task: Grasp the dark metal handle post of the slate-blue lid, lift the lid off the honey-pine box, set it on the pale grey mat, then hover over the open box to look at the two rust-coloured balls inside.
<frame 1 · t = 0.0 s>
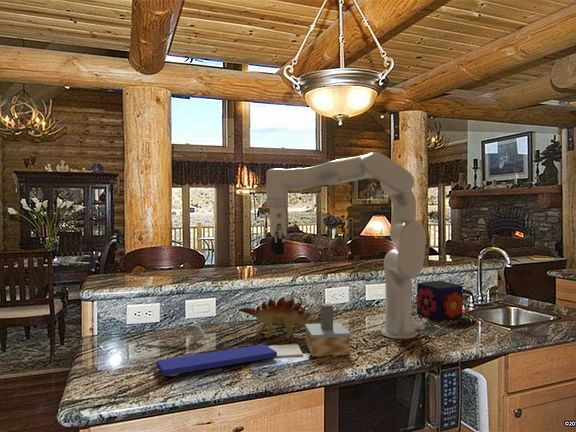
hand: (277, 252, 155), 31 cm above the worktop, tool pointing down, fingers open, 9 cm apart
lid: (326, 331, 146), point 6 cm above the worktop, touching pine box
rust ball A: (331, 340, 148), point 2 cm above the worktop, touching pine box
decorative cube: (439, 316, 189), on the worktop
long blue plank: (218, 364, 133), on the worktop, touching mat
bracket: (171, 345, 152), on the worktop
rust ball B: (321, 343, 144), point 2 cm above the worktop, touching pine box
toy: (283, 335, 162), on the worktop
pine box: (326, 349, 146), on the worktop
mat: (285, 351, 144), on the worktop
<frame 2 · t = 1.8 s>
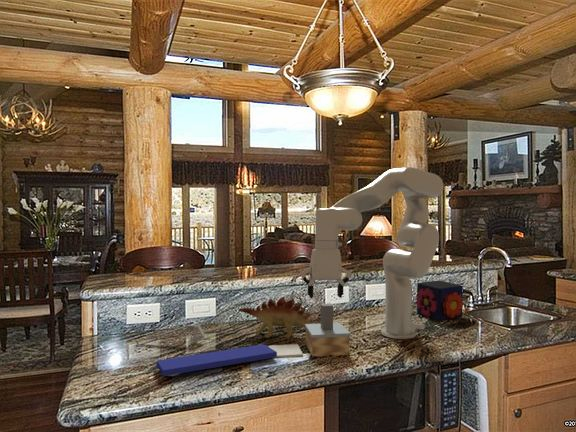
hand: (325, 297, 145), 18 cm above the worktop, tool pointing down, fingers open, 9 cm apart
nothing on the worktop moved.
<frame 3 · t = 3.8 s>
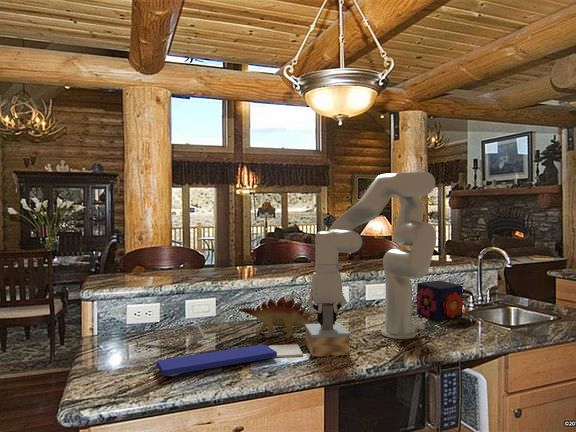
hand: (326, 323, 146), 9 cm above the worktop, tool pointing down, fingers closed on lid, 3 cm apart
lid: (326, 331, 146), point 6 cm above the worktop, touching gripper, pine box
everything else where it was.
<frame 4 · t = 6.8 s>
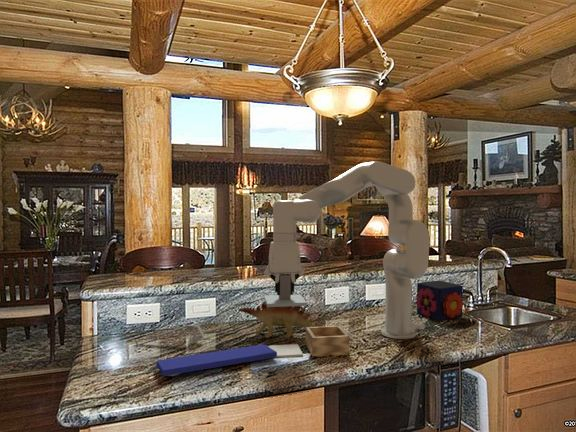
hand: (284, 293, 143), 19 cm above the worktop, tool pointing down, fingers closed on lid, 3 cm apart
lid: (284, 302, 143), point 16 cm above the worktop, touching gripper
everything else where it was.
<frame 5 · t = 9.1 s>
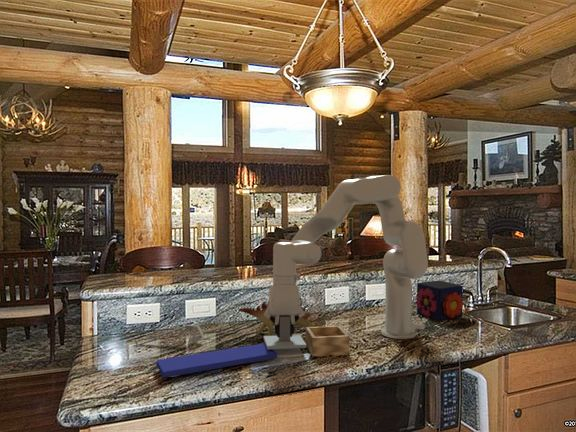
hand: (284, 335, 144), 5 cm above the worktop, tool pointing down, fingers closed on lid, 3 cm apart
lid: (284, 343, 144), point 3 cm above the worktop, touching gripper, long blue plank
long blue plank: (218, 364, 133), on the worktop, touching lid, mat
everything else where it was.
when the fingers open (5 cm above the worktop, at t = 9.9 s): lid stays where it is, resting on mat, long blue plank.
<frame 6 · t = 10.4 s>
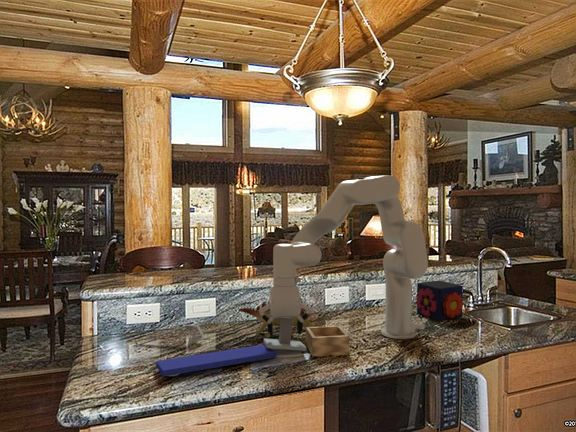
hand: (285, 334, 144), 6 cm above the worktop, tool pointing down, fingers open, 9 cm apart
lid: (284, 345, 144), point 2 cm above the worktop, tilted 11°, touching mat, long blue plank
long blue plank: (218, 364, 132), on the worktop, touching lid, mat
everything else where it was.
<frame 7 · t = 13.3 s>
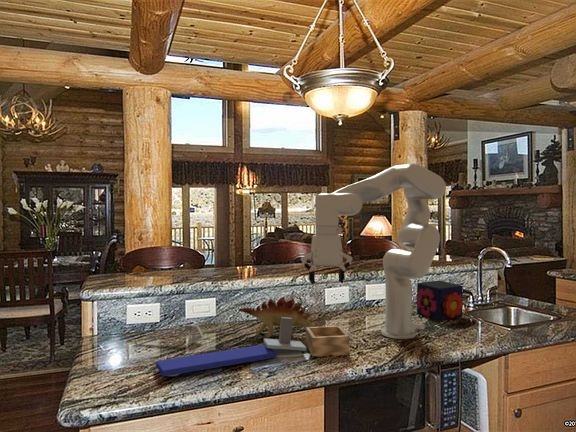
hand: (326, 282, 145), 22 cm above the worktop, tool pointing down, fingers open, 9 cm apart
nothing on the worktop moved.
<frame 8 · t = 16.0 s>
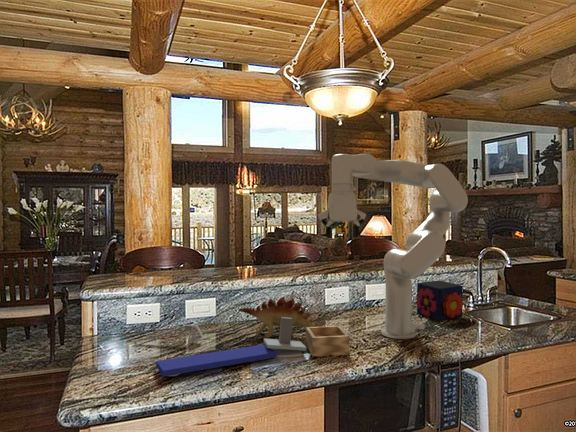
hand: (342, 237, 156), 36 cm above the worktop, tool pointing down, fingers open, 9 cm apart
nothing on the worktop moved.
at the end: lid inside the target area on the mat (0.5 cm from its centre), point 2.0 cm above the mat's base; lid touching mat, long blue plank; lid tilted 11° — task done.
